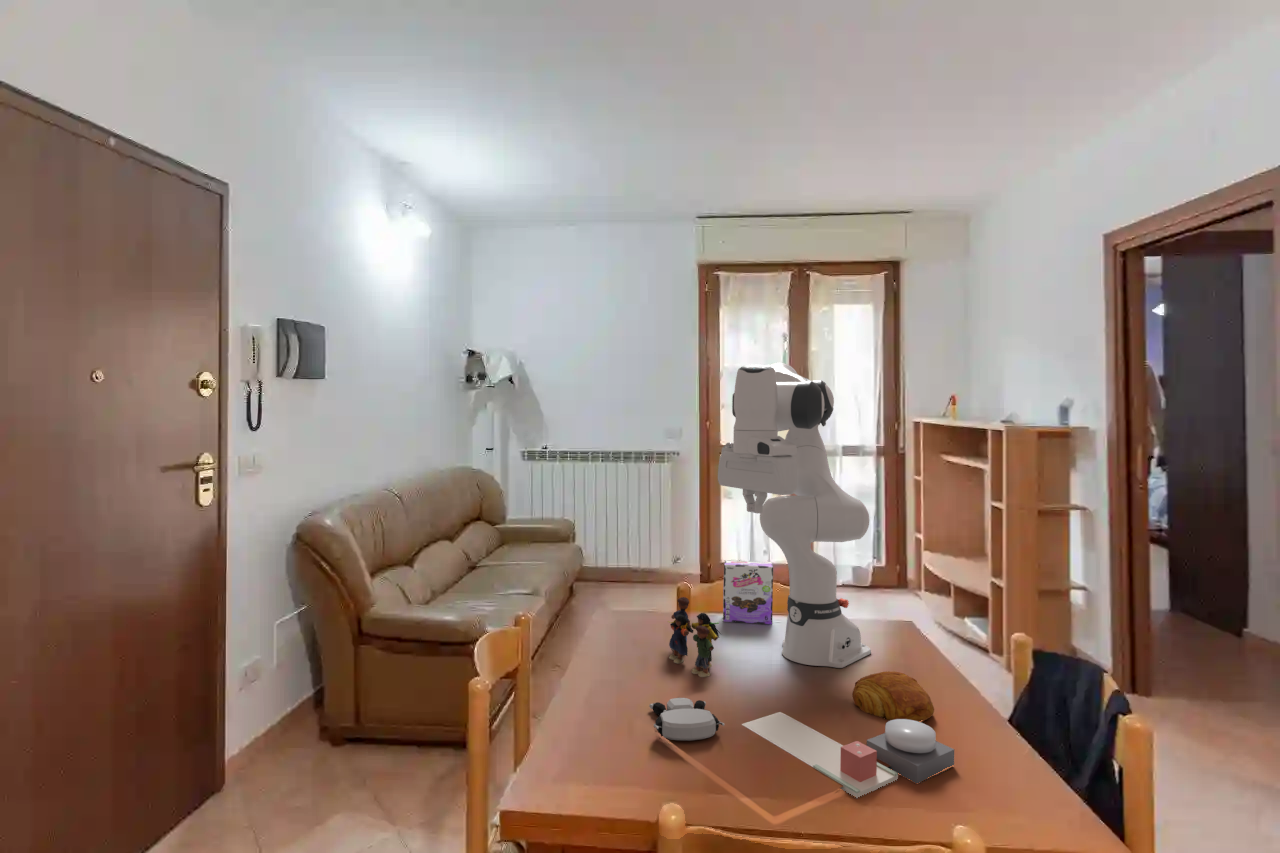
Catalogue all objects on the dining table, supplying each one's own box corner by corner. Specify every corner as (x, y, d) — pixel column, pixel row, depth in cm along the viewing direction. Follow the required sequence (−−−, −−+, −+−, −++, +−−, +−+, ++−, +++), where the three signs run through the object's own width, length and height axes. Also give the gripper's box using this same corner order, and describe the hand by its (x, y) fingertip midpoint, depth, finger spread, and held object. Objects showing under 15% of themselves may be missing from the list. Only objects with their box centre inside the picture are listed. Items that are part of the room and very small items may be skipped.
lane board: (780, 715, 134) (780, 710, 134) (897, 779, 111) (897, 773, 111) (729, 732, 127) (729, 726, 127) (843, 804, 104) (843, 797, 104)
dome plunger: (904, 737, 122) (904, 715, 122) (945, 756, 116) (945, 733, 116) (875, 748, 118) (875, 726, 118) (915, 769, 111) (916, 745, 111)
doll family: (647, 650, 170) (647, 596, 169) (676, 643, 175) (676, 591, 174) (707, 681, 151) (708, 621, 150) (738, 672, 156) (738, 614, 156)
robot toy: (646, 718, 135) (657, 751, 120) (646, 695, 135) (657, 725, 120) (707, 715, 136) (725, 747, 121) (707, 692, 136) (725, 721, 122)
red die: (856, 764, 115) (857, 739, 114) (876, 775, 111) (876, 749, 111) (840, 770, 112) (840, 745, 112) (859, 782, 109) (860, 756, 109)
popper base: (903, 742, 124) (903, 725, 124) (954, 766, 115) (954, 749, 115) (866, 757, 119) (866, 740, 118) (917, 784, 110) (917, 765, 110)
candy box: (722, 622, 192) (723, 564, 191) (723, 615, 198) (724, 559, 197) (772, 625, 190) (773, 566, 189) (772, 618, 195) (772, 561, 195)
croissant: (842, 710, 142) (837, 672, 142) (906, 691, 146) (902, 655, 146) (883, 741, 128) (878, 699, 128) (953, 720, 132) (948, 680, 132)
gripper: (711, 442, 146) (710, 507, 146) (779, 447, 128) (778, 520, 129) (733, 441, 149) (733, 504, 149) (803, 446, 132) (802, 518, 132)
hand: (754, 512), depth 139 cm, fingers closed
